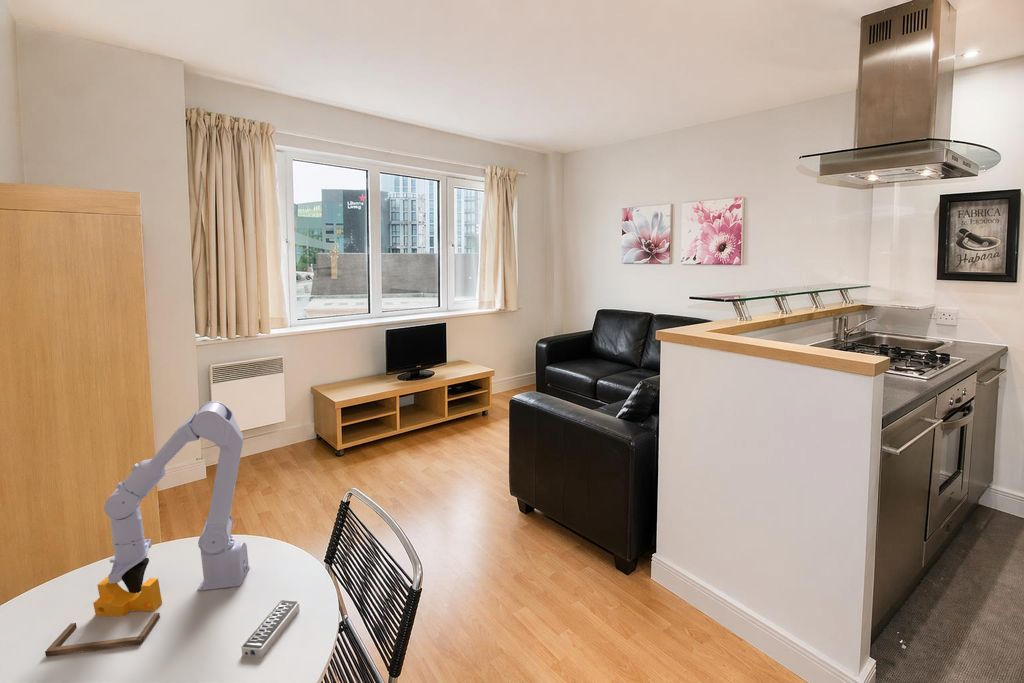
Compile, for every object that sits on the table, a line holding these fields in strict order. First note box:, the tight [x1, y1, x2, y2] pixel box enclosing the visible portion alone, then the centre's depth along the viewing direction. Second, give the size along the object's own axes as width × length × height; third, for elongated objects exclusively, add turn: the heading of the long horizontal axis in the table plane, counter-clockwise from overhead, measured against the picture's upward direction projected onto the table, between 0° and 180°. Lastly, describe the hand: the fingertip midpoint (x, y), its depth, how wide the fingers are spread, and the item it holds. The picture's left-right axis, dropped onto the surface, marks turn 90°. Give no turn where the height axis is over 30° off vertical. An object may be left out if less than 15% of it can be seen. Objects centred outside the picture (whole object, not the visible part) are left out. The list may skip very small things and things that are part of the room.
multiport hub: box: [240, 599, 300, 659], centre depth 109 cm, size 4×14×2 cm, turn 173°
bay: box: [44, 612, 161, 658], centre depth 107 cm, size 17×8×1 cm, turn 101°
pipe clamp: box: [92, 576, 163, 617], centre depth 115 cm, size 12×4×6 cm, turn 88°
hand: (135, 592), depth 119 cm, fingers closed
